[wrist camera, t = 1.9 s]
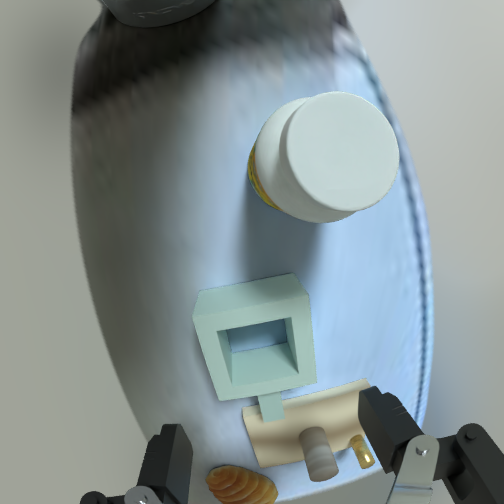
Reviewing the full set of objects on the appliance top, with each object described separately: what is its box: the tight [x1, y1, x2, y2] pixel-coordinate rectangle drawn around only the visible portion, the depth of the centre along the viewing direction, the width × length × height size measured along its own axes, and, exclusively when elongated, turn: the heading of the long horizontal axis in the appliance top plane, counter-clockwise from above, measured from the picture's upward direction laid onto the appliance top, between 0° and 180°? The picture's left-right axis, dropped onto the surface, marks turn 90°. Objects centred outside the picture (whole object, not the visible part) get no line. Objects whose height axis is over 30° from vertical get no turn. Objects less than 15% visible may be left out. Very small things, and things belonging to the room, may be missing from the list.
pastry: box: [205, 465, 278, 504], centre depth 23 cm, size 9×7×4 cm
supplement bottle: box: [248, 91, 399, 223], centre depth 13 cm, size 5×5×10 cm
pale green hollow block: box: [192, 273, 317, 423], centre depth 18 cm, size 10×6×4 cm, turn 10°
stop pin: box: [350, 434, 375, 469], centre depth 20 cm, size 1×1×4 cm
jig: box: [242, 378, 370, 482], centre depth 19 cm, size 9×11×6 cm
